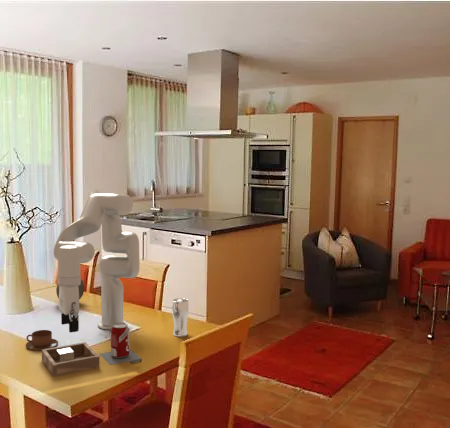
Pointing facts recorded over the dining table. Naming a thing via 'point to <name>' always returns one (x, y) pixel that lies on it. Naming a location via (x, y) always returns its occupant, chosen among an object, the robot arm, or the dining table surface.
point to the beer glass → (180, 316)
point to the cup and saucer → (41, 340)
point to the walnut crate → (82, 360)
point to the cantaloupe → (80, 287)
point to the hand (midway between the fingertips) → (69, 327)
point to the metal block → (64, 354)
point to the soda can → (120, 340)
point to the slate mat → (131, 358)
